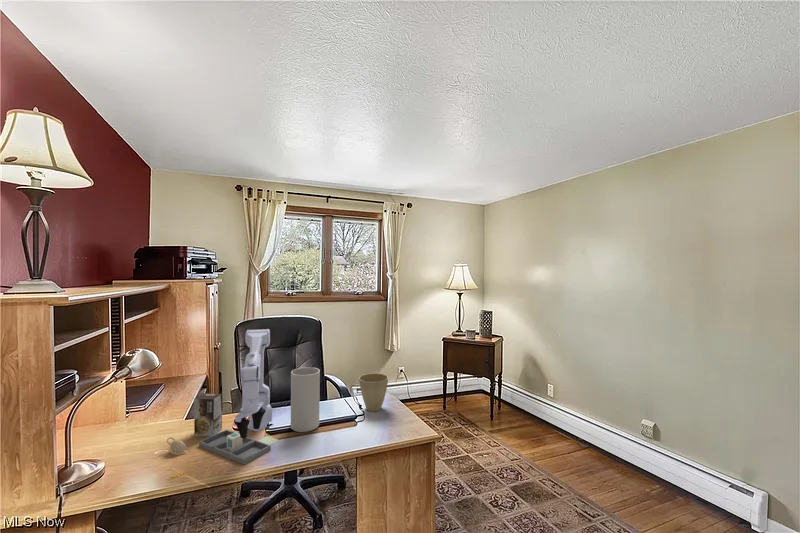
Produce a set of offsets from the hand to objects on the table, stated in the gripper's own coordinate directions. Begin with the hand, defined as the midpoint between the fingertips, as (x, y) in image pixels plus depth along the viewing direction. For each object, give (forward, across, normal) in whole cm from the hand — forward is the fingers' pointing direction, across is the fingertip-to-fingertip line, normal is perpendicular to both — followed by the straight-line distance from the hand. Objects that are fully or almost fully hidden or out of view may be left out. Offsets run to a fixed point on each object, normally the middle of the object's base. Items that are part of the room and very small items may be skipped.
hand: (250, 433), depth 140 cm
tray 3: (+8, 0, 0) cm, 8 cm away
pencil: (+9, +14, -11) cm, 20 cm away
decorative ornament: (+9, +6, -28) cm, 30 cm away
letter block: (+8, -2, -9) cm, 12 cm away
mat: (+8, -10, 0) cm, 13 cm away
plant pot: (+9, -56, +30) cm, 65 cm away
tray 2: (+8, -2, -9) cm, 12 cm away
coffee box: (+9, -10, -29) cm, 32 cm away
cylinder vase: (+9, -28, +8) cm, 30 cm away
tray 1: (+8, -4, -18) cm, 20 cm away
